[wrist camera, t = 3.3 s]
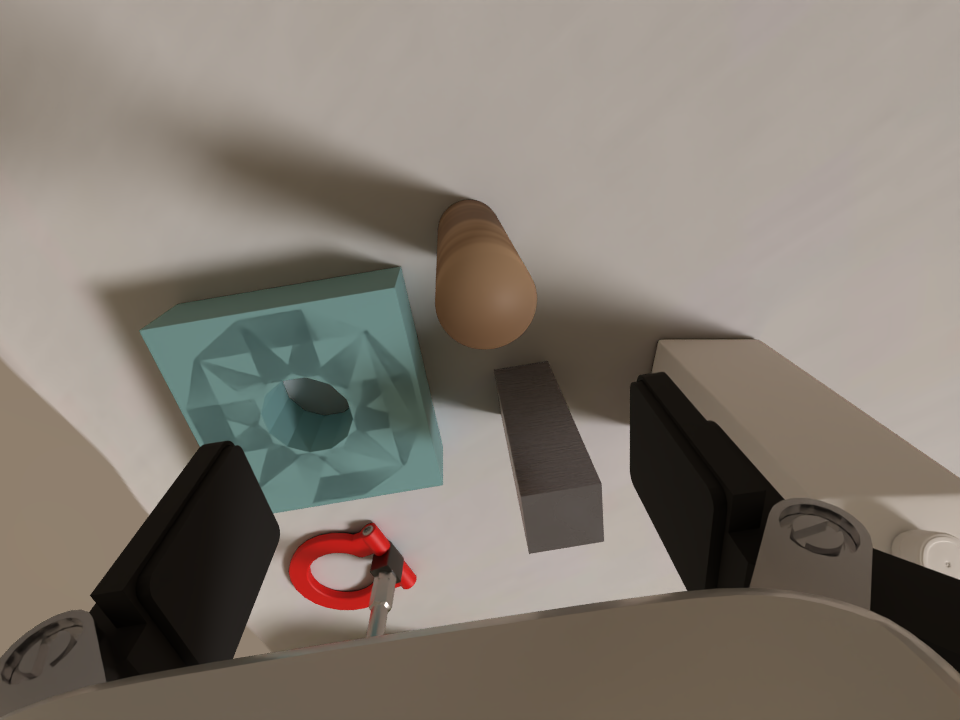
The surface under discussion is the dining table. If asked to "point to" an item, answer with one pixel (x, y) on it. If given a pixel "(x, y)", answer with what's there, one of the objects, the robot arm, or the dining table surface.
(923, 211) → the dining table surface
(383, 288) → the bore block
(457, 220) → the walnut dowel
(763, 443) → the milk carton
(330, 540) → the tow hook
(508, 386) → the steel square bar
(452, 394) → the dining table surface
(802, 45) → the dining table surface
